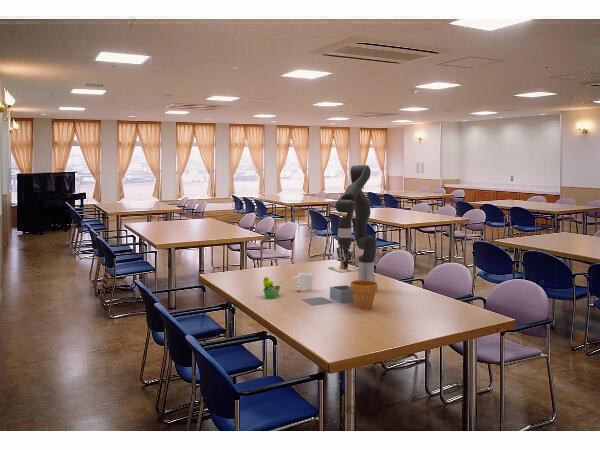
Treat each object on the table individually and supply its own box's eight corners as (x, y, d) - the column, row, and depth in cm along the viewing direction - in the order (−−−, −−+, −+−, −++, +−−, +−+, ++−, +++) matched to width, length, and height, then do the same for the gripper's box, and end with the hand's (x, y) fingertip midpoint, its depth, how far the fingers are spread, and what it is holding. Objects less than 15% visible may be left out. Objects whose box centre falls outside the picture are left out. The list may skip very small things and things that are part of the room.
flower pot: (373, 311, 273) (374, 286, 272) (347, 308, 278) (347, 284, 276) (379, 304, 286) (380, 281, 285) (353, 302, 291) (354, 279, 290)
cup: (313, 291, 314) (313, 275, 313) (293, 292, 312) (293, 275, 310) (310, 288, 322) (310, 272, 321) (291, 289, 320) (291, 272, 318)
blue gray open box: (346, 297, 303) (346, 285, 302) (357, 301, 293) (357, 289, 292) (329, 299, 297) (330, 286, 297) (340, 303, 288) (340, 291, 287)
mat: (322, 297, 300) (322, 296, 300) (335, 303, 288) (335, 302, 288) (300, 300, 294) (300, 299, 294) (312, 306, 281) (312, 305, 281)
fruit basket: (276, 299, 295) (276, 279, 294) (260, 298, 297) (260, 278, 296) (280, 294, 306) (280, 275, 305) (265, 293, 308) (266, 274, 307)
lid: (347, 266, 302) (347, 256, 301) (360, 270, 291) (360, 260, 290) (328, 268, 296) (328, 258, 295) (340, 273, 285) (340, 262, 284)
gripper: (357, 237, 287) (356, 268, 289) (343, 234, 299) (343, 264, 301) (345, 238, 283) (345, 269, 285) (332, 234, 295) (331, 265, 298)
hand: (344, 266), depth 293 cm, fingers closed on lid, 3 cm apart
